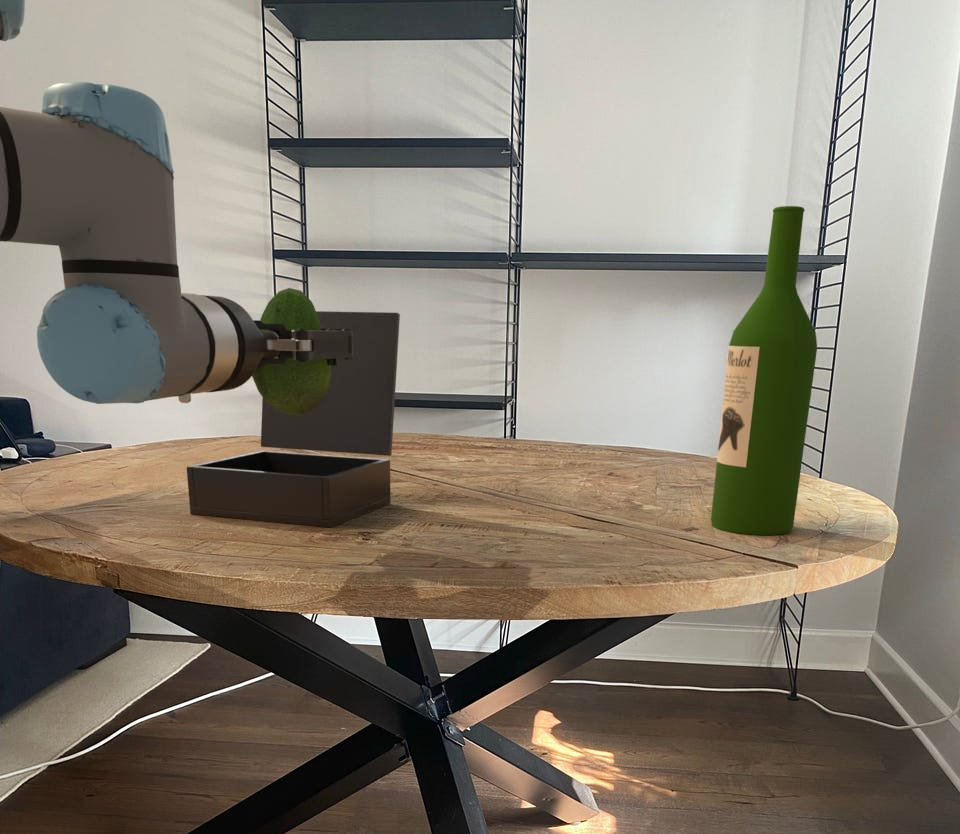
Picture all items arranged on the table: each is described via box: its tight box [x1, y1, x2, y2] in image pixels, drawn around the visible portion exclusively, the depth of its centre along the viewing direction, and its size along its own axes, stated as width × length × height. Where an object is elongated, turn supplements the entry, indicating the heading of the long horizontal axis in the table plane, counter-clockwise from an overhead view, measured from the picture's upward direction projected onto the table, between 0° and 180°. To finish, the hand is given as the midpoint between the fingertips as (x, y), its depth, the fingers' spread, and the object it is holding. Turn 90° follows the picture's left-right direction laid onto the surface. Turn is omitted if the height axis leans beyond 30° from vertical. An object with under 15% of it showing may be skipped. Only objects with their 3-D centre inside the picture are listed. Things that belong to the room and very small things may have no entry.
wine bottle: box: [710, 205, 818, 536], centre depth 97 cm, size 9×9×32 cm
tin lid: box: [260, 310, 401, 457], centre depth 110 cm, size 16×18×1 cm
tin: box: [186, 450, 392, 529], centre depth 106 cm, size 16×18×5 cm
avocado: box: [251, 287, 331, 415], centre depth 90 cm, size 8×8×12 cm
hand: (308, 341), depth 94 cm, fingers closed on avocado, 8 cm apart
